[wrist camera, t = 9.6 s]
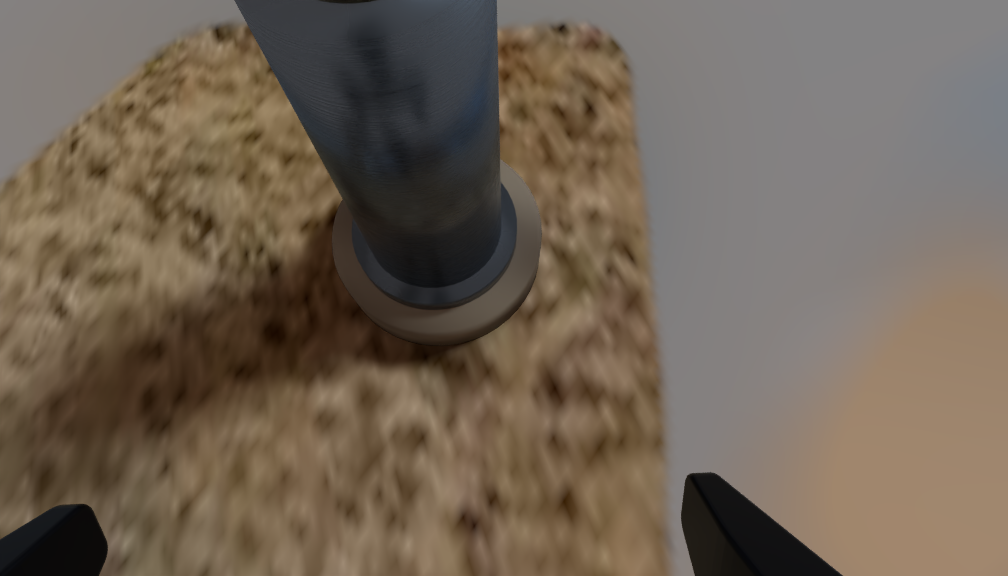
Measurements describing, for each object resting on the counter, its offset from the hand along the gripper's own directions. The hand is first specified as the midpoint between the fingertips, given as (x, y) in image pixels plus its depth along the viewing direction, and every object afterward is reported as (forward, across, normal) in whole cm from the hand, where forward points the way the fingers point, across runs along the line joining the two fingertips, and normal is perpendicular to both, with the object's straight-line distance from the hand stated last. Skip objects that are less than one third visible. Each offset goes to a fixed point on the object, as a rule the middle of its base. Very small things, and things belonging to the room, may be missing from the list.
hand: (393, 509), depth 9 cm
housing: (+15, +1, +1) cm, 15 cm away
